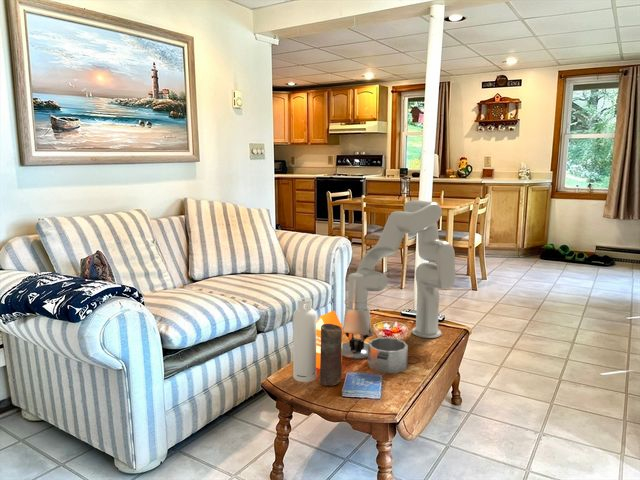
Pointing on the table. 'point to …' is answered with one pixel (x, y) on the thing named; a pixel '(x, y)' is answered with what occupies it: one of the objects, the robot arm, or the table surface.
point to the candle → (330, 354)
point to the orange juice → (324, 319)
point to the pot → (387, 355)
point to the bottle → (304, 341)
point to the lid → (354, 350)
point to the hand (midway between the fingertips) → (356, 348)
